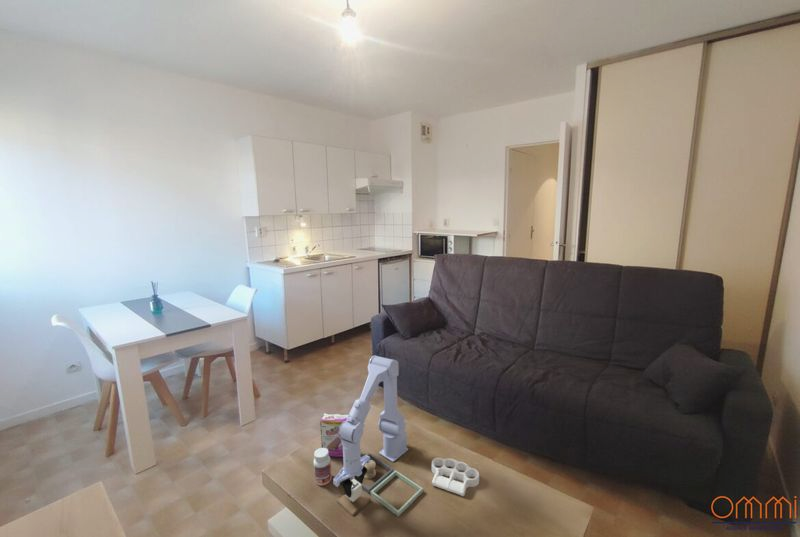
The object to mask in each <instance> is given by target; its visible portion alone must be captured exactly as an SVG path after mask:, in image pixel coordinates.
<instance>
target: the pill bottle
mask: <svg viewBox="0 0 800 537" xmlns="http://www.w3.org/2000/svg"><path fill="white" fill-rule="evenodd" d="M331 460H332V459H331V456H329V452H328V449H326V448H322V447H319V448H317V449H316V450H315V451H314V454H313V475H314V476H313V477H314V482H315V484H316V485H318V486H325V485H327V484H329V483H330V482H331V481H332V478H333V476H332V464H331Z"/></svg>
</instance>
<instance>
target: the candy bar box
mask: <svg viewBox="0 0 800 537" xmlns="http://www.w3.org/2000/svg"><path fill="white" fill-rule="evenodd" d="M348 415H349V414H341V413H340V414H339V413H322V417H321V418H320V421H319V422H320V440H321V448H326V449H328V452H329V456H330V458H331V457H332V458H333V457H335V458H343V444H342V443H341V439H340V438H339V437H338V433H339V428H340V425H341V424H342V423H343V422H344V421H346V420H347V418H348Z"/></svg>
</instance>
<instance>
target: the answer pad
mask: <svg viewBox="0 0 800 537" xmlns="http://www.w3.org/2000/svg"><path fill="white" fill-rule="evenodd" d="M370 501H371V497H369V496H368V495H366V494H365V492H363V491H362V495H361V496H360V497H359V498H357V499H356V500H355V501H354V502H352V501H351V500H350V499H349V498H348V497H346V496H345V493H344V494H343V495H342V496H341V497H340V498H338V499H337V500H336V504H337V503H338V505H340V506H341V508H343V509H344V510H345V511H346V512H348V513H349V514H350V515H351V516H354V515H355V514H357V513H358V512H359V511H360V510H362V509H363V508H364V507H365V506H366V505H367V504H368V503H369V502H370Z"/></svg>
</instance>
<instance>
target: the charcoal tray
mask: <svg viewBox="0 0 800 537" xmlns="http://www.w3.org/2000/svg"><path fill="white" fill-rule="evenodd" d="M366 455H367V456H369V457H370V460H373V461H374V462H375V463H377V464H378V465H379V466H381V467H382V468H384V469H385V470H387V472H386V473H385V474H383V475H382V476H381V477H380V478H379V479H378V480H376V482H374V483H373V484H372V485H370V486H369V487H368V486H367V485H365V484H364V483H363V482H362V491H365V493H367V494H368V495H369V494H371V493H370V491H372V490H373V489H374V488H375V487H376V486H378V485H379V484H380V483H381V482H382V481H383V480H385V479H386V478H387V477H388V476H389V475H390V474H392V473H393V472H394V471H395V470H394V468H393V467H391V466H390V465H388V464H387V463H386V462H384V461H382V460H381V459H379V458H378V457H377V456H375V455H373V454H372V453H370V452H369V453H368V454H366ZM353 479H355V476H353V477H351V478H350V480H353Z"/></svg>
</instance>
